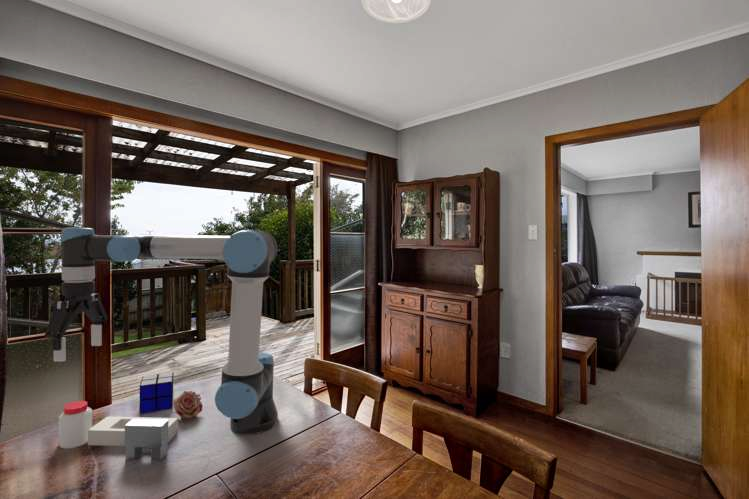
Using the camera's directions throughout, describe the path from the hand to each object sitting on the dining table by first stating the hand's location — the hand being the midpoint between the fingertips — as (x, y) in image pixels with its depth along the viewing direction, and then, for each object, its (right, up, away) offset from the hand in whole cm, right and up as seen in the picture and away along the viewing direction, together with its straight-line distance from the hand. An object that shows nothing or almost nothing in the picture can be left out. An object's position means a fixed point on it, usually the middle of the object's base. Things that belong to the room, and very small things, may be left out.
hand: (79, 352), depth 107 cm
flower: (+23, -27, +18) cm, 40 cm away
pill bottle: (-3, -27, +2) cm, 27 cm away
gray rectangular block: (+22, -28, -4) cm, 36 cm away
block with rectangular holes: (+13, -27, +4) cm, 31 cm away
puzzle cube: (+8, -26, +25) cm, 37 cm away
